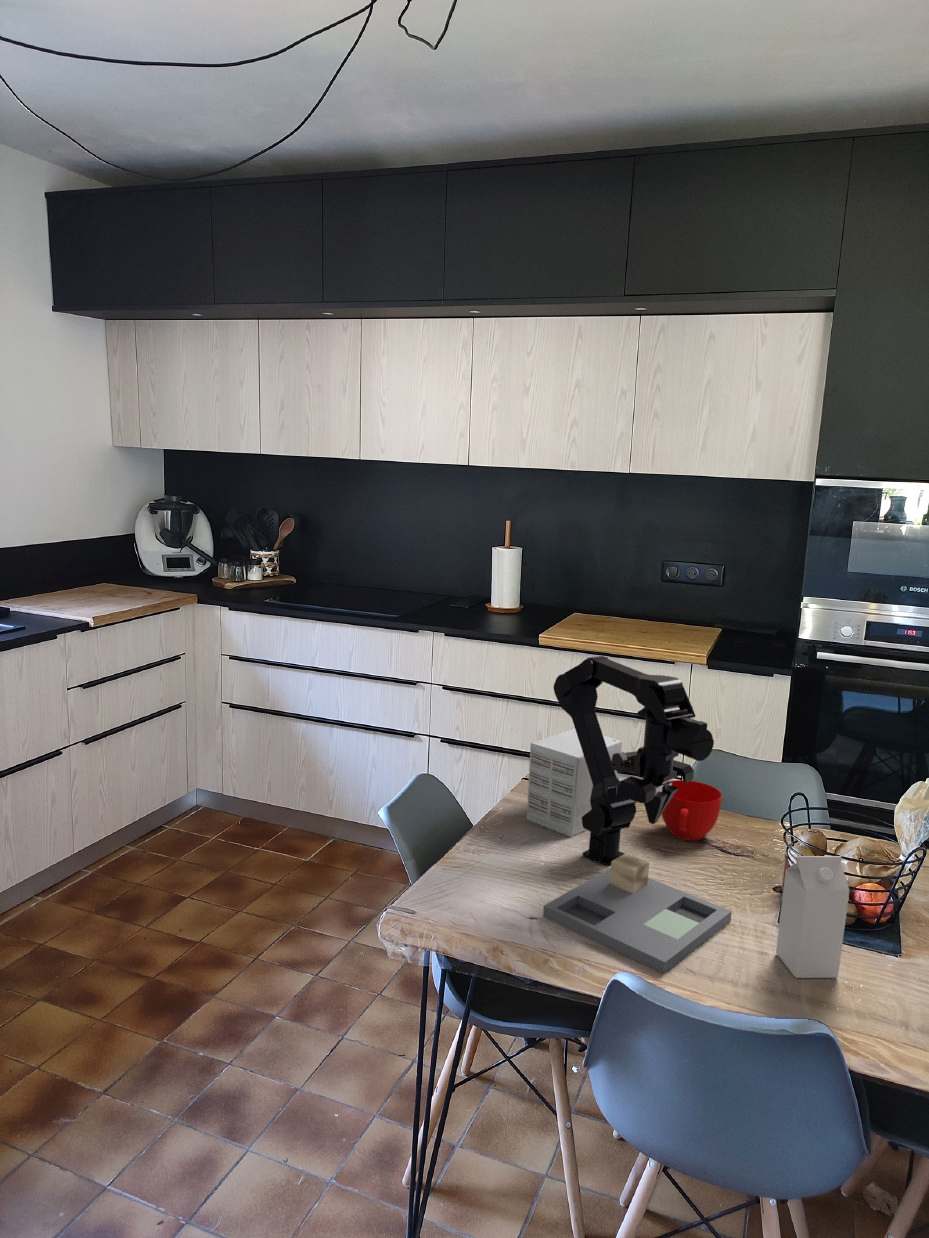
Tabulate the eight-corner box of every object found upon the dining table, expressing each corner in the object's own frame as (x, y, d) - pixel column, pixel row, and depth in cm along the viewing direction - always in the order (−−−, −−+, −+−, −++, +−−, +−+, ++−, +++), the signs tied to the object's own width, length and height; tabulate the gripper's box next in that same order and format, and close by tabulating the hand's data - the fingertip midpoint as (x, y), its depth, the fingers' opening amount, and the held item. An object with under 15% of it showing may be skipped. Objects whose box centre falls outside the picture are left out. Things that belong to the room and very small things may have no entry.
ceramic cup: (648, 846, 183) (651, 801, 181) (662, 817, 198) (666, 776, 196) (711, 859, 178) (716, 813, 176) (721, 829, 193) (725, 786, 192)
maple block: (624, 875, 165) (626, 852, 164) (647, 884, 162) (649, 861, 161) (609, 883, 162) (611, 861, 161) (633, 893, 158) (634, 870, 158)
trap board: (615, 874, 170) (616, 864, 169) (730, 921, 154) (731, 911, 154) (543, 916, 153) (543, 905, 153) (664, 973, 137) (665, 962, 137)
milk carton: (775, 953, 144) (788, 846, 141) (816, 953, 145) (830, 846, 141) (795, 979, 137) (808, 866, 134) (838, 978, 138) (853, 866, 135)
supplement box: (570, 799, 207) (575, 726, 203) (617, 817, 198) (623, 740, 194) (524, 819, 194) (528, 741, 191) (572, 838, 185) (577, 757, 182)
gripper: (647, 724, 174) (641, 798, 177) (594, 744, 161) (588, 823, 164) (698, 738, 167) (691, 814, 170) (647, 759, 153) (640, 842, 156)
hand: (652, 823), depth 165 cm, fingers closed
